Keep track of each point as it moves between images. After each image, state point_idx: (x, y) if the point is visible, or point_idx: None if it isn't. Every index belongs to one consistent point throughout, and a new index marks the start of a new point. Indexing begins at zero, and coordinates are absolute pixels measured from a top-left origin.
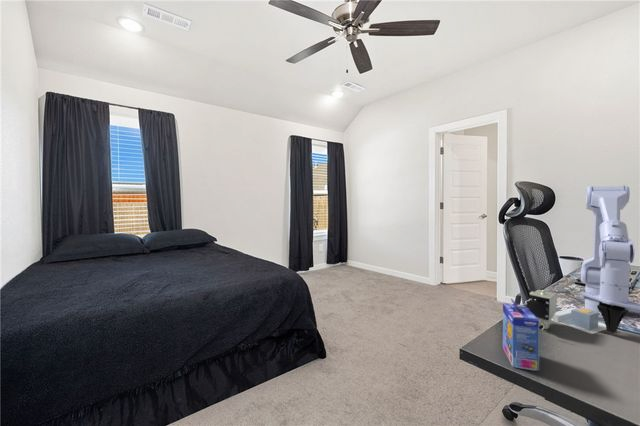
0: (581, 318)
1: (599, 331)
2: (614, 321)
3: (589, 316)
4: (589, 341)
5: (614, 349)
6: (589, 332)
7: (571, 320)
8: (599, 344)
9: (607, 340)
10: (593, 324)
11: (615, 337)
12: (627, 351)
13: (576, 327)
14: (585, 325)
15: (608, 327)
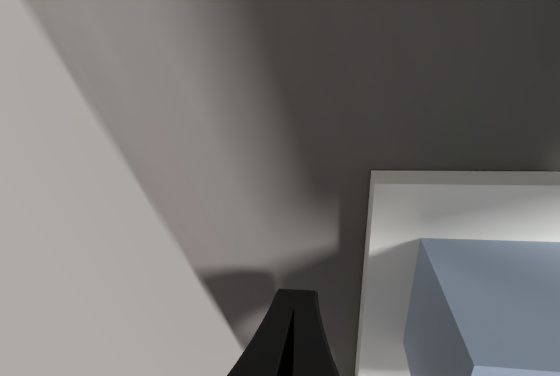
0: (530, 308)
1: (366, 280)
2: (237, 371)
3: (469, 349)
4: (345, 58)
5: (187, 87)
6: (400, 194)
7: None
8: (278, 76)
9: (293, 214)
10: (420, 321)
11: None
12: (145, 141)
13: (513, 212)
14: (460, 260)
15: (300, 311)
